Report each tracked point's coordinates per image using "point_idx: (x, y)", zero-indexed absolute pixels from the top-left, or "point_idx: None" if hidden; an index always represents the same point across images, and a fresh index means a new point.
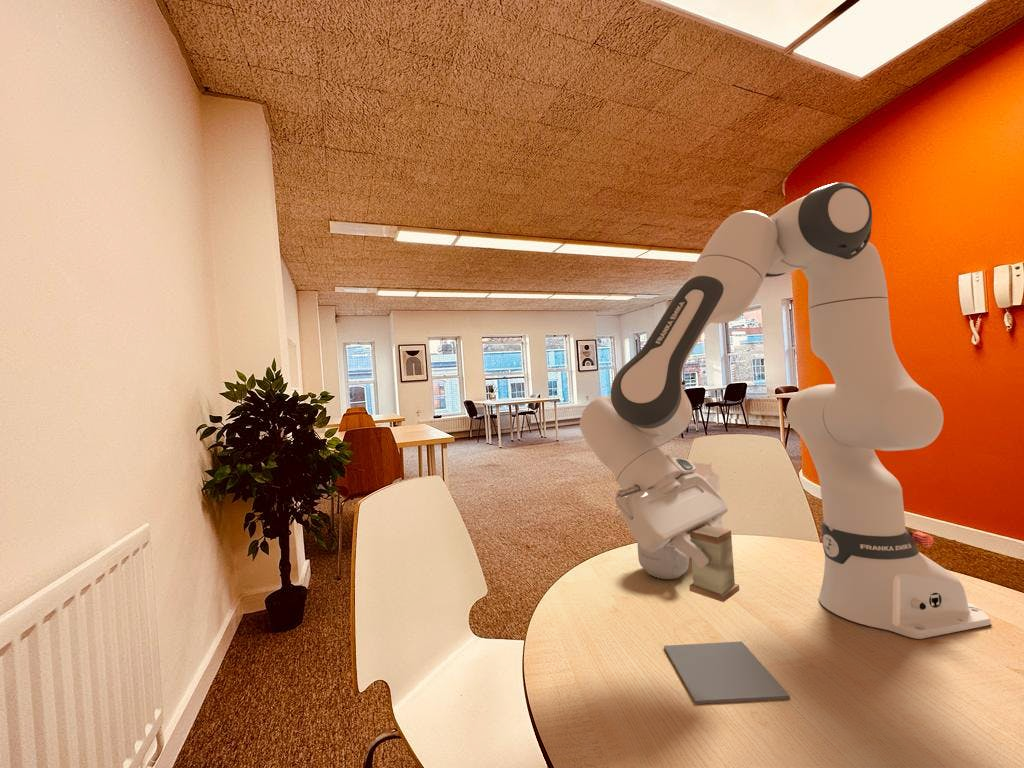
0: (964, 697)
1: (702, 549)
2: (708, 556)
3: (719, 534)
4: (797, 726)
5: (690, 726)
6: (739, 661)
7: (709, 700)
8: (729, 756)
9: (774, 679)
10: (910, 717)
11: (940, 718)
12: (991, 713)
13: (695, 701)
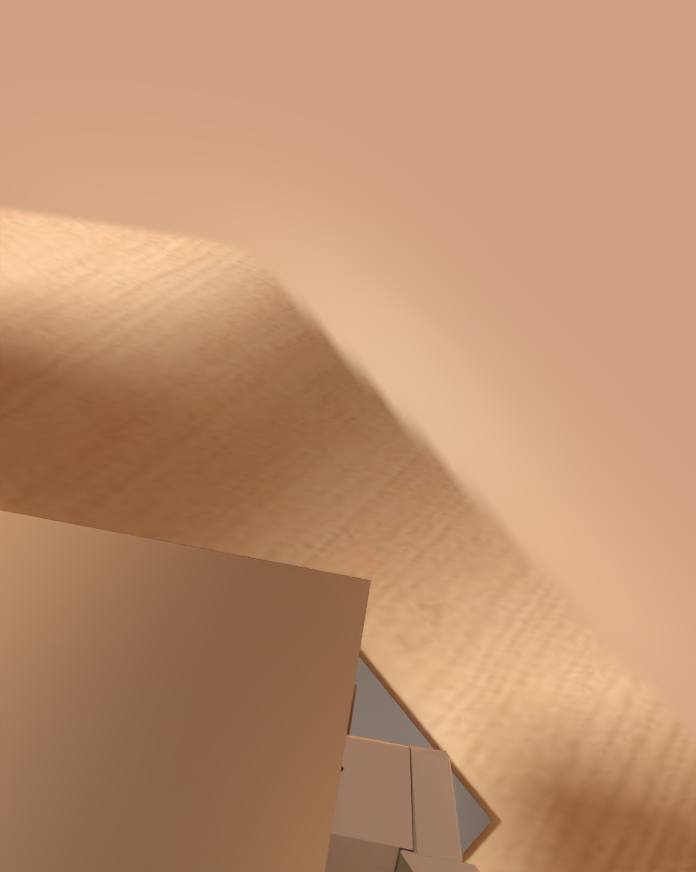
0: (76, 273)
1: (377, 835)
2: (377, 755)
3: (228, 589)
4: (388, 538)
5: (594, 796)
6: None
7: (454, 776)
8: (611, 661)
9: None
10: (208, 351)
11: (181, 312)
12: (116, 249)
13: (490, 820)
